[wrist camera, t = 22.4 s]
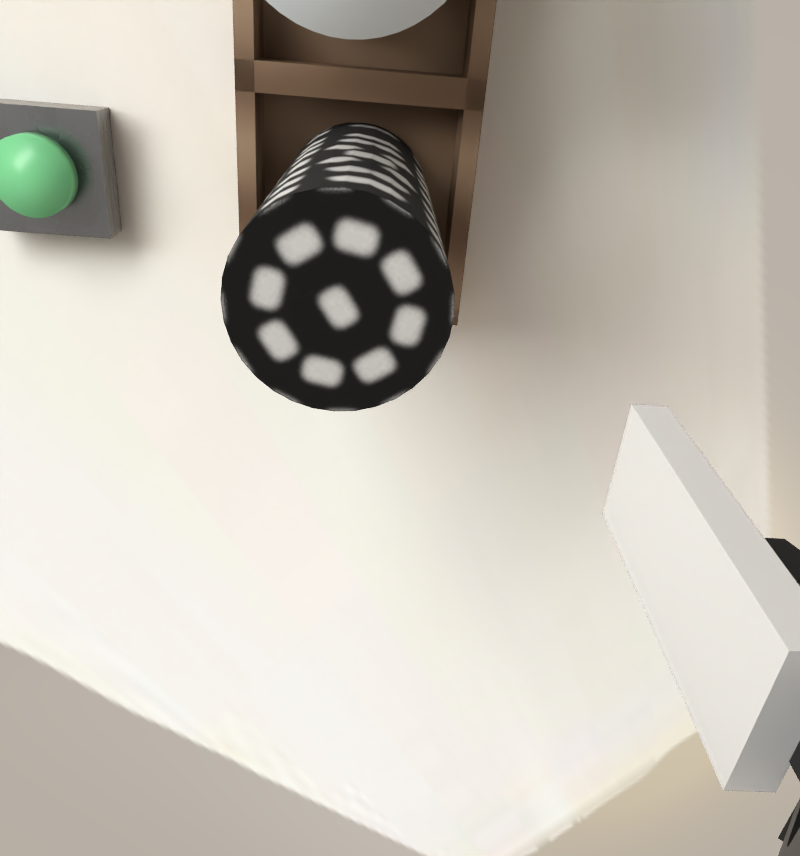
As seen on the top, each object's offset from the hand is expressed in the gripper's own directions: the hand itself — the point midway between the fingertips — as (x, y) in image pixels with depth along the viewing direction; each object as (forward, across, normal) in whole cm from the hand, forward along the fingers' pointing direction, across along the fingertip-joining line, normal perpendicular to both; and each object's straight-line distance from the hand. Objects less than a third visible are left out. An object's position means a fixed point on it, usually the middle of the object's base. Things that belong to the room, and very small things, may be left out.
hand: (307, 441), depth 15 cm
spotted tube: (+32, 0, -2) cm, 32 cm away
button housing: (+33, -18, -1) cm, 37 cm away
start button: (+32, -18, -1) cm, 37 cm away
